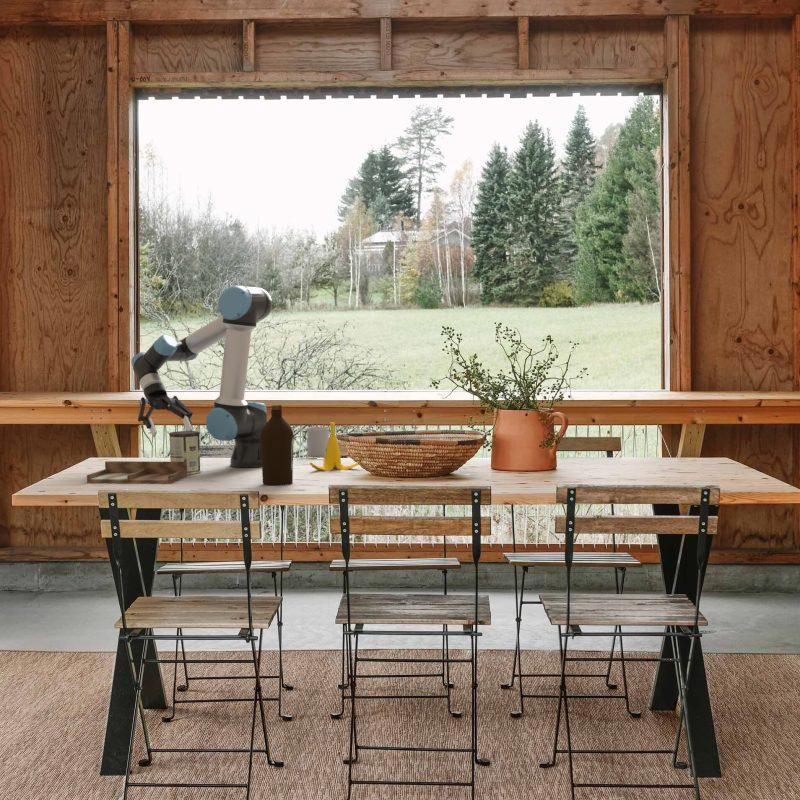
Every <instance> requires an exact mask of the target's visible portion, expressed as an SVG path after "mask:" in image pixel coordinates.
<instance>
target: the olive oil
mask: <svg viewBox="0 0 800 800" xmlns="http://www.w3.org/2000/svg"><path fill="white" fill-rule="evenodd" d="M282 408H283V407H282V404H272V405H271V410H270V414H271V416H270V418H269V419H268V420H267V423H266V424H265V425H264V426H263V428H262V430H261V433H260V444H261V458H262V467H261V474H262V485H264V486H269V487H271V486H272V487H277V486H279V487H281V486H288V485H292V484H293V483H294V482H293V481H294V480H293V479H294V478H293V476H294V474H293V473H294V444H295V443H294V440H295V437H294V436H295V434H294V430H293V428H292V426H291V425H290V424H289V423H288V422H287V421H286V420H285V419H284V418H283V410H282Z"/></svg>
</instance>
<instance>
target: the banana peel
mask: <svg viewBox="0 0 800 800" xmlns="http://www.w3.org/2000/svg"><path fill="white" fill-rule="evenodd" d="M329 426H330V431H329V440H328V443H327V447H326V454H325V457H323V466H318V465H316V464H315V463H313V462H309V465H310V466H311V467H312V468H313V469H315V470H317V471H324V472H330V471H331V472H332V470H334V468H337V470H339V471H347V470H350V469H352V468H354V467H356V466H359V464H357V463H358V462H355V463H353V464H350V465H346V464H345V465H344V464H343V463H342V460H341V450H340V446H339V442H338V440H337V439H338V438H337V436H336V433H335V427H336V422H334V421H330V422H329Z"/></svg>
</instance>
